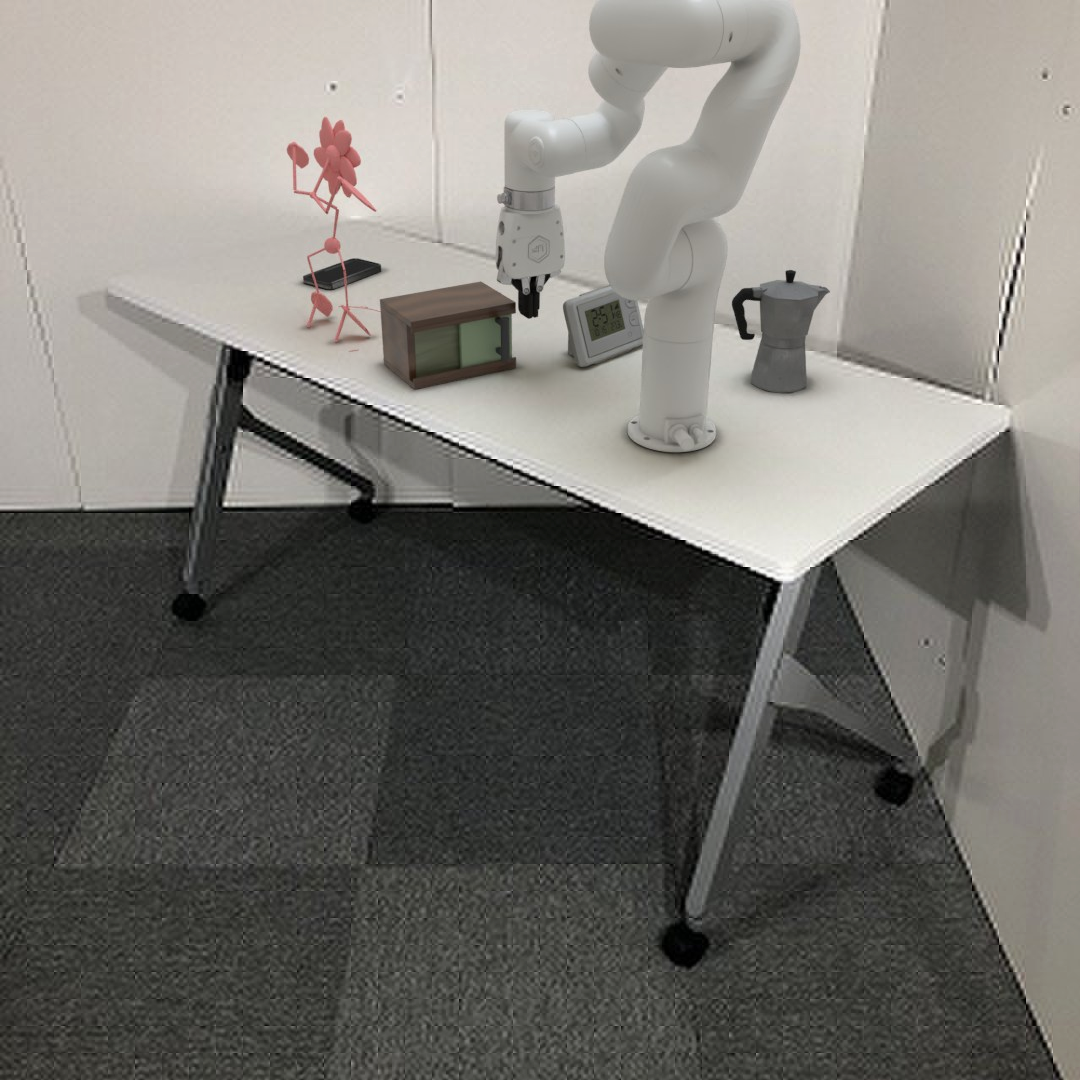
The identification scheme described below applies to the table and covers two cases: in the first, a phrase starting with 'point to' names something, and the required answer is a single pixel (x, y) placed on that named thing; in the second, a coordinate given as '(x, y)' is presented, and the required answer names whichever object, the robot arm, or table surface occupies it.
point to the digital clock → (601, 326)
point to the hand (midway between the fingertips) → (528, 315)
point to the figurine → (339, 173)
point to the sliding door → (485, 341)
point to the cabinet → (438, 332)
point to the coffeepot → (780, 330)
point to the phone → (342, 273)
